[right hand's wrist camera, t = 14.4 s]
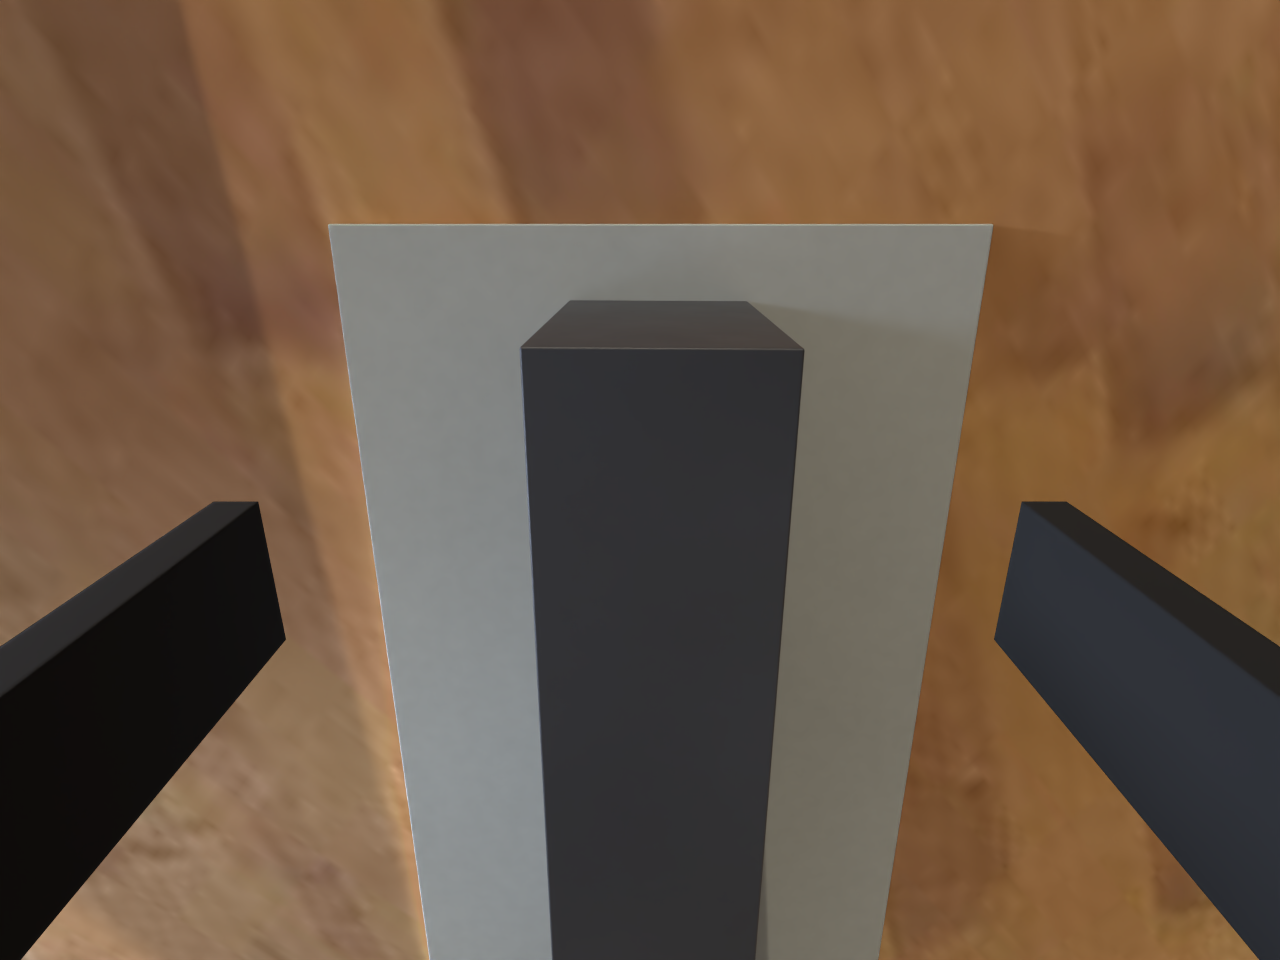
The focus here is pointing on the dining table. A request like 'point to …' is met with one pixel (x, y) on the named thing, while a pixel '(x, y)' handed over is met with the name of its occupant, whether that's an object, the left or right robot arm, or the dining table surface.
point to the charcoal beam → (658, 615)
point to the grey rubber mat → (500, 545)
